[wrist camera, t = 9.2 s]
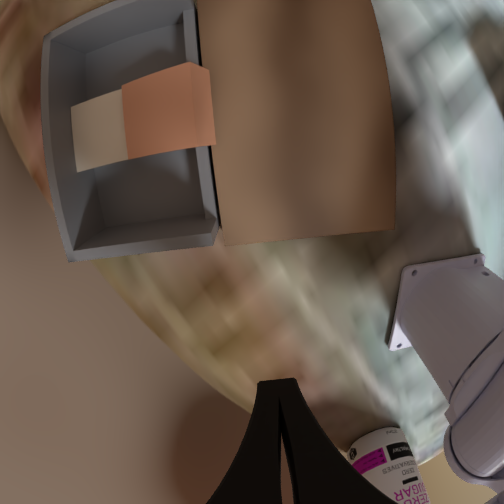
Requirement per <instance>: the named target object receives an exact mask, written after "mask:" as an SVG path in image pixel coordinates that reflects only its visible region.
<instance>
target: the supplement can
mask: <svg viewBox="0 0 504 504" xmlns="http://www.w3.org/2000/svg"><path fill="white" fill-rule="evenodd" d="M347 457H348V461H349V463H350V464H351V465H352V466H353V467H354V468H355V469H356V470H357V471H358V472H359V473H360V474H361V475H362V476H363V477H364V478H366V479H367V480H368V481H369V482H370V483H371V484H372V485H374V486H375V487H376V488H377V489H378V490H380V491H381V492H382V493H384V494H385V495H386V496H388V497H389V498H391V499H392V500H394V501H395V502H397V503H398V504H431V503H430V500H429V497H428V494H427V491H426V488H425V486H424V483H423V480H422V478H421V475H420V473H419V470H418V467H417V464H416V462H415V459H414V457H413V454H412V452H411V449H410V447H409V445H408V442H407V440H406V437H405V435H404V433H403V431H402V429H398V428H395V427H386V428H382V429H378V430H375V431H373V432H371V433H368V434H366V435H364V436H363V437H361V438H359V439H358V440H357V441H355V442H354V443H353V444H352V445H351V447H350V449H349V450H348V452H347Z"/></svg>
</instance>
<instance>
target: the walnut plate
mask: <svg viewBox="0 0 504 504" xmlns="http://www.w3.org/2000/svg"><path fill="white" fill-rule="evenodd" d="M197 9H198V22H199V34H200V45H201V56H202V67H204V68H206V69H208V70H209V73H210V85H211V96H212V107H213V117H214V127H215V137H216V145H211V149H212V157H213V165H214V172H215V180H216V188H217V195H218V203H219V210H220V217H221V224H222V231H223V238H224V245H225V246H232V245H241V244H251V243H261V242H271V241H280V240H290V239H300V238H310V237H321V236H331V235H341V234H352V233H362V232H373V231H384V230H395V209H396V157H395V137H394V123H393V112H392V103H391V95H390V87H389V80H388V74H387V68H386V62H385V57H384V52H383V47H382V42H381V37H380V33H379V29H378V25H377V21H376V17H375V13H374V10H373V6H372V3H371V0H197Z"/></svg>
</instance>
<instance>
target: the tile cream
mask: <svg viewBox="0 0 504 504" xmlns="http://www.w3.org/2000/svg"><path fill="white" fill-rule="evenodd" d="M71 122H72V134H73V144H74V153H75V161H76V168H77V172H81V171H86V170H90V169H94V168H98V167H102V166H106V165H110V164H114V163H118V162H122V161H127V160H128V154H127V146H126V137H125V127H124V116H123V103H122V89H120V90H116V91H113V92H110V93H107V94H104V95H101V96H99V97H96V98H93V99H90V100H88V101H85V102H82V103H80V104H77V105H75V106H72V107H71ZM134 159H136V158H134ZM129 160H131V159H129Z"/></svg>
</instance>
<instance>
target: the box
mask: <svg viewBox="0 0 504 504" xmlns="http://www.w3.org/2000/svg"><path fill="white" fill-rule="evenodd" d="M187 62H192V63H194V64H197V65H199V66H201V67H202V56H201V45H200V34H199V22H198V11H197V9H196V7H195V4H194V2H193V0H116V1H113V2H111V3H108V4H106V5H103V6H101V7H99V8H96V9H94V10H92V11H90V12H88V13H85V14H83V15H81V16H79V17H77V18H75V19H73V20H71V21H70V22H68V23H66V24H64V25H62V26H60V27H59V28H57V29H55V30H53V31H52V32H50V33H48V34H47V35H45V36H44V39H43V48H42V61H41V121H42V135H43V145H44V154H45V162H46V168H47V175H48V181H49V187H50V192H51V197H52V202H53V206H54V211H55V215H56V219H57V223H58V227H59V231H60V235H61V238H62V242H63V246H64V249H65V252H66V256H67V259H68V262H75V261H83V260H91V259H100V258H108V257H116V256H125V255H133V254H142V253H151V252H160V251H168V250H177V249H186V248H196V247H205V246H213V244H214V241H215V238H216V235H217V232H218V229H219V226H220V223H221V217H220V210H219V203H218V195H217V188H216V180H215V172H214V165H213V157H212V149H211V146H203V147H197V148H190V149H184V150H178V151H172V152H166V153H161V154H156V155H151V156H145V157H140V158H136V159H131V160H127V161H122V162H118V163H114V164H110V165H106V166H102V167H98V168H94V169H90V170H86V171H81V172H77V168H76V161H75V153H74V144H73V134H72V122H71V107H72V106H75V105H77V104H80V103H82V102H85V101H88V100H90V99H93V98H96V97H99V96H101V95H104V94H107V93H110V92H113V91H116V90H120V89H122V85H124V84H127V83H129V82H131V81H134V80H136V79H139V78H142V77H144V76H147V75H150V74H153V73H155V72H158V71H161V70H164V69H167V68H170V67H174V66H177V65H180V64H183V63H187Z"/></svg>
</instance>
